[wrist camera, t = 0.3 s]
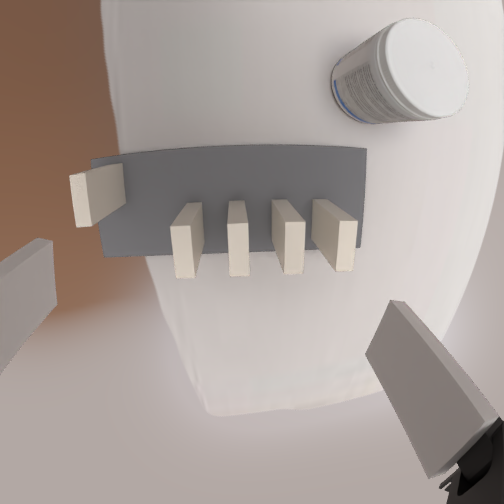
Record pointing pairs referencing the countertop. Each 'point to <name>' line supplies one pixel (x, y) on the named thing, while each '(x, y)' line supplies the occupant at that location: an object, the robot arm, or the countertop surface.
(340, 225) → the domino
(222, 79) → the countertop surface
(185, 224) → the domino
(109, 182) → the domino
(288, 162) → the mat
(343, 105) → the supplement tub
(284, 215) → the domino
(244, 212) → the domino
